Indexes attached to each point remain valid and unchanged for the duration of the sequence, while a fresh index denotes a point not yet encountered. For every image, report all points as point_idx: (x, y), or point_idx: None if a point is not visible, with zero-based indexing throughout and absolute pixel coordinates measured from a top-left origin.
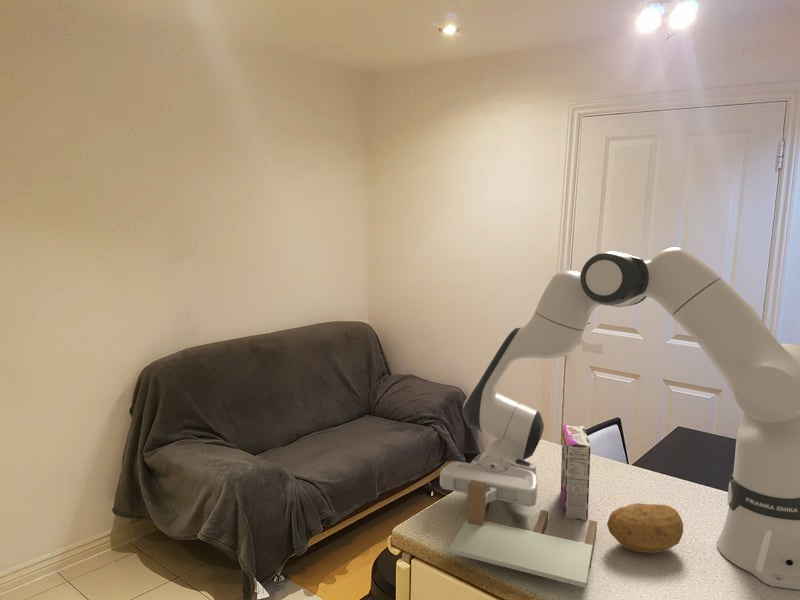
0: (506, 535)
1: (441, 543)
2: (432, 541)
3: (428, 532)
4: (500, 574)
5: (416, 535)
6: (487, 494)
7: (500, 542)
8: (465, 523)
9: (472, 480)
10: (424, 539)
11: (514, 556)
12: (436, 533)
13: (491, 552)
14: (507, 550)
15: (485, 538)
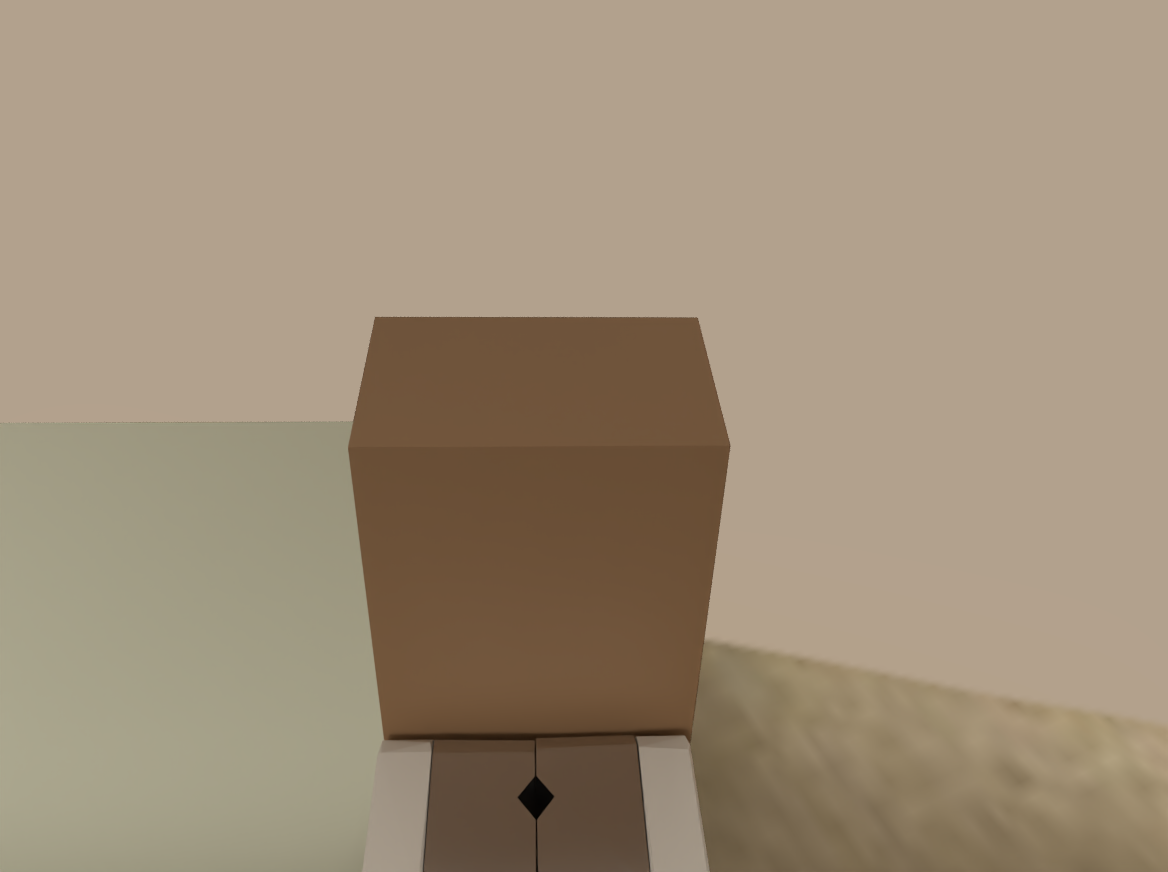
0: (78, 760)
1: (825, 725)
2: (920, 720)
3: (1071, 840)
4: None
5: (1123, 744)
6: (367, 853)
7: (162, 624)
8: None
9: (686, 430)
10: (1007, 718)
11: (25, 499)
12: (986, 860)
13: (252, 482)
14: (89, 541)
15: (339, 629)
